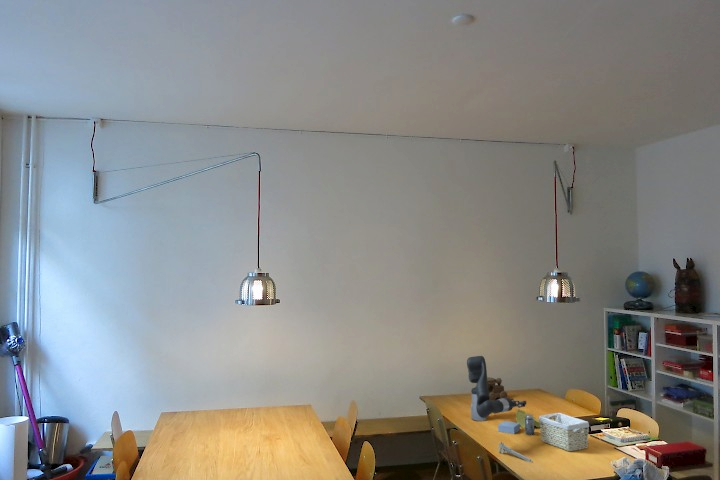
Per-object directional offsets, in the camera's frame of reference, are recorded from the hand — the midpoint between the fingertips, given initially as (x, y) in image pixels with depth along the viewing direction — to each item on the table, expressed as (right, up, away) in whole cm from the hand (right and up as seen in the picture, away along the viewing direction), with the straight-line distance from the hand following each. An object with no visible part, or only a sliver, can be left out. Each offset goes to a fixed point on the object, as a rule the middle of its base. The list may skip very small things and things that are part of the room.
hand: (519, 401), depth 318 cm
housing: (+8, -21, +5) cm, 23 cm away
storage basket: (+21, -20, -16) cm, 33 cm away
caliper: (-12, -20, -34) cm, 41 cm away
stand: (-2, -22, +13) cm, 26 cm away
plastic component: (+13, -23, +25) cm, 37 cm away
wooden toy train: (+8, -27, +92) cm, 96 cm away
